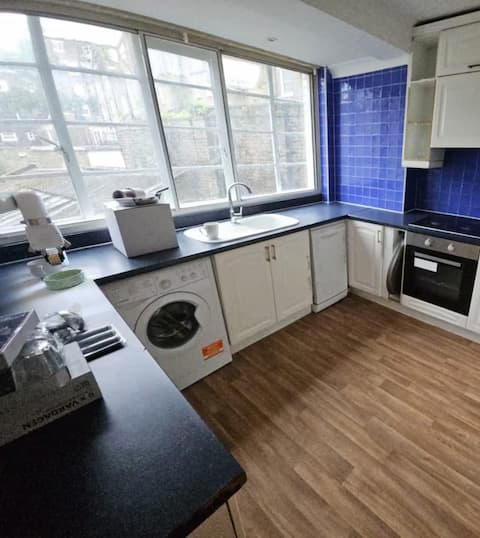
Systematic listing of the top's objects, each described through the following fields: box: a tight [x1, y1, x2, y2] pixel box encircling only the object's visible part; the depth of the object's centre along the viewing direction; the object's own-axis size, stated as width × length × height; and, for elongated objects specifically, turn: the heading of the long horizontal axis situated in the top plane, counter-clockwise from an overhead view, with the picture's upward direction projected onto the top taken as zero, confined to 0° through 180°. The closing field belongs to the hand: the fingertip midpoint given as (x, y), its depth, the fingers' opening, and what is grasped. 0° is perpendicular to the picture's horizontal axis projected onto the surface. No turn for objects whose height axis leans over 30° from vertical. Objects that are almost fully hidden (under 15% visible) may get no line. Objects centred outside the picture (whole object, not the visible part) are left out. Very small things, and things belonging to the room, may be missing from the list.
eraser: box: [48, 253, 62, 266], centre depth 130 cm, size 6×3×4 cm, turn 39°
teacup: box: [26, 257, 63, 279], centre depth 140 cm, size 14×11×8 cm
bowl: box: [42, 268, 87, 291], centre depth 133 cm, size 13×13×4 cm
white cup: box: [46, 246, 70, 268], centre depth 154 cm, size 8×8×10 cm
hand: (56, 261), depth 130 cm, fingers closed on eraser, 3 cm apart
